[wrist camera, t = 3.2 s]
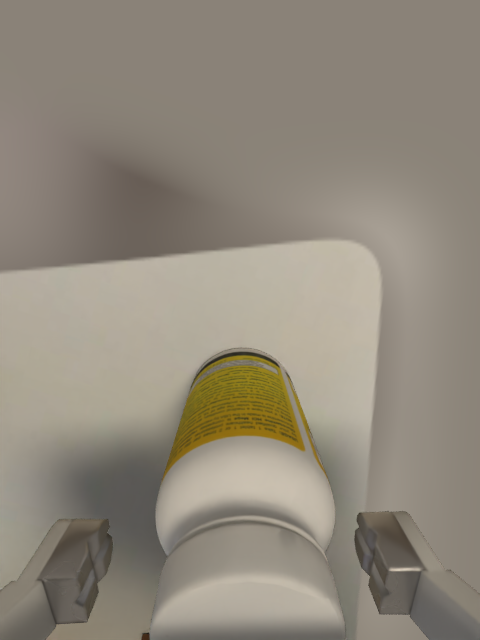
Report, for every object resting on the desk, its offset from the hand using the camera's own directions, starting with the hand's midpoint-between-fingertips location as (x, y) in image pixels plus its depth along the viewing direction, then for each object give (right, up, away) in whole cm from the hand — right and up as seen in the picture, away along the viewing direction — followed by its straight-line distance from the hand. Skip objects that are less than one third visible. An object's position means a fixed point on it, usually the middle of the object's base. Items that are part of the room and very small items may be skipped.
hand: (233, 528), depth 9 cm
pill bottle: (0, +2, +8) cm, 9 cm away
